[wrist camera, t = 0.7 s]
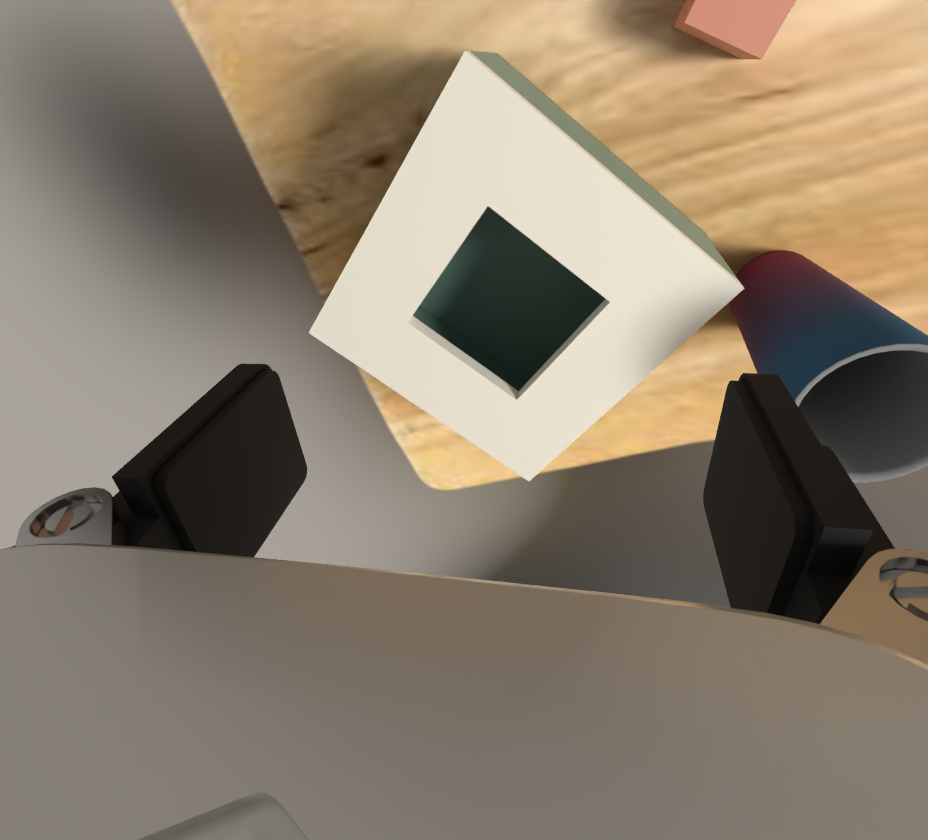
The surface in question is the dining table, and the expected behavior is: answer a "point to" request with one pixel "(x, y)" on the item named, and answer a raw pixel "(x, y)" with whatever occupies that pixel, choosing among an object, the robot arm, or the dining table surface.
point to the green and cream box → (519, 273)
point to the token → (734, 24)
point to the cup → (839, 363)
